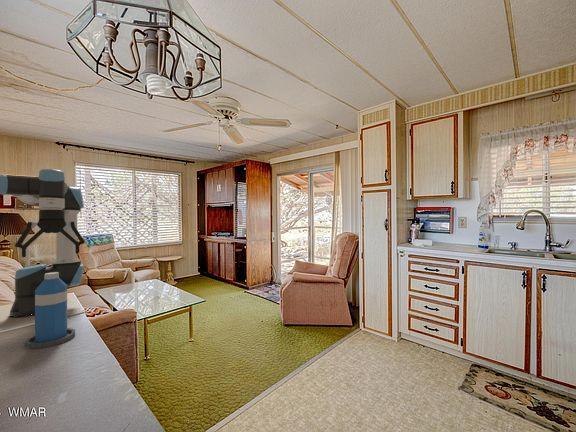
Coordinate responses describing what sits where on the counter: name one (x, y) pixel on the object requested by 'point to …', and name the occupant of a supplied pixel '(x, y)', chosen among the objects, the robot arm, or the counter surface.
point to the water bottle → (50, 309)
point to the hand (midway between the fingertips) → (52, 263)
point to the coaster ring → (32, 345)
